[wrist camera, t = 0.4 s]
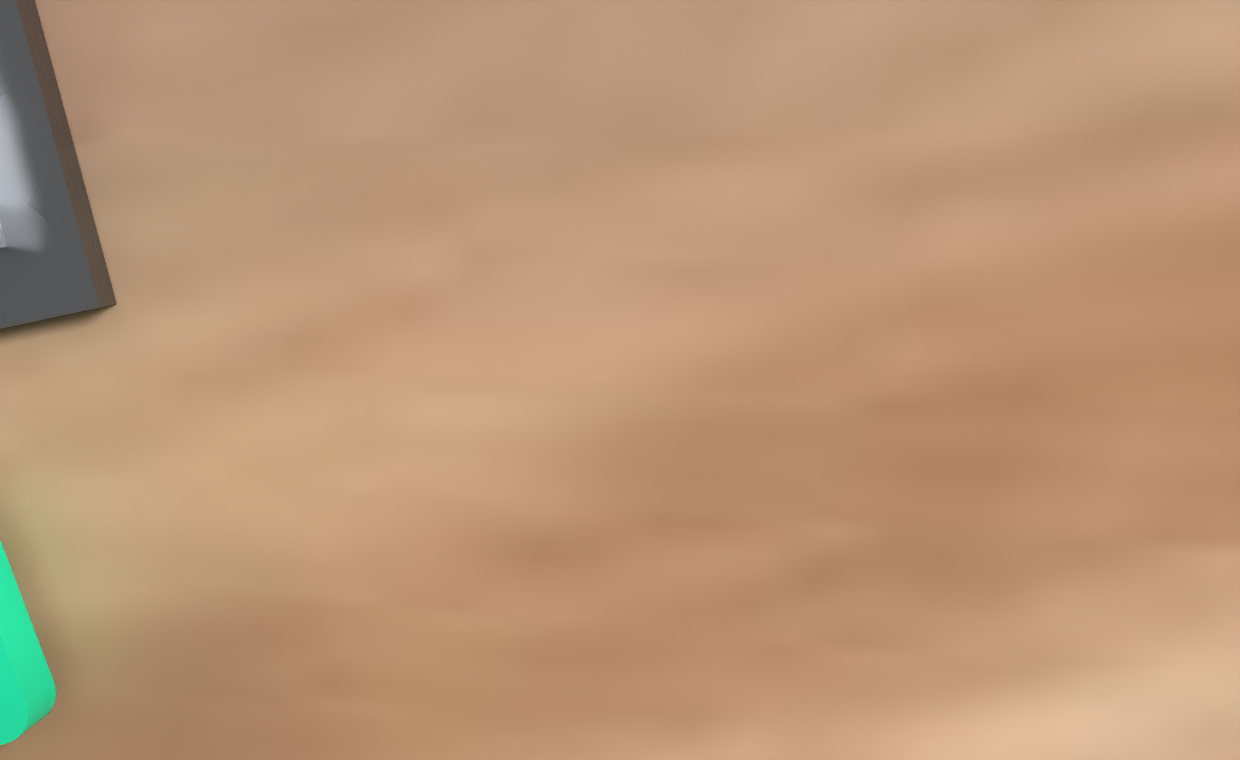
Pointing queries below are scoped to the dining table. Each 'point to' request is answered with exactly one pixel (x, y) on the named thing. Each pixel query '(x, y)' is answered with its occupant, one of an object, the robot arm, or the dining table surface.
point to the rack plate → (41, 187)
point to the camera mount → (20, 663)
